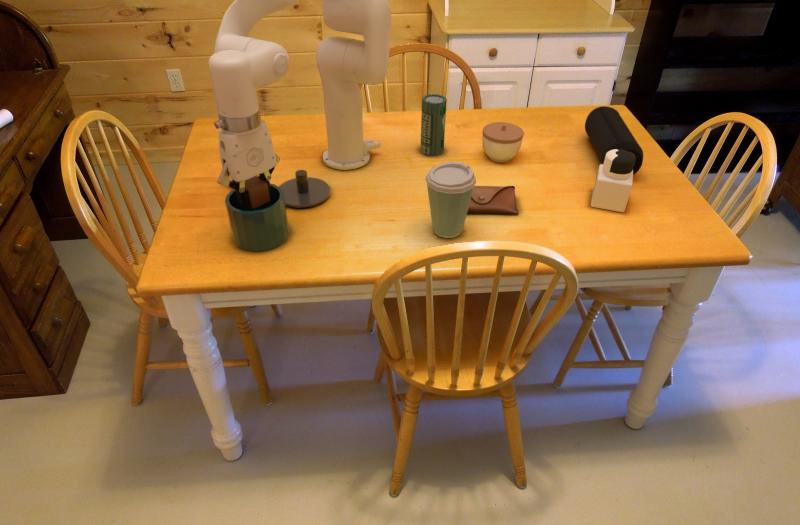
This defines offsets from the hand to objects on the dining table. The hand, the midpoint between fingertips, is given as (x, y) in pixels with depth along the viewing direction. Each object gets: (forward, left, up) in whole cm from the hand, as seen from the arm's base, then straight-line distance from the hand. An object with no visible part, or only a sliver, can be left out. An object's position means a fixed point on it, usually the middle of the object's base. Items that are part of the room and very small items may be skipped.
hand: (255, 199), depth 118 cm
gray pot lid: (-14, -12, -9) cm, 20 cm away
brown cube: (0, 0, 0) cm, 0 cm away
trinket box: (-68, -7, -10) cm, 69 cm away
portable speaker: (-94, +6, -10) cm, 95 cm away
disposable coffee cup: (-38, +16, -10) cm, 42 cm away
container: (-79, +23, -10) cm, 83 cm away
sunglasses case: (-50, +11, -9) cm, 52 cm away
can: (-53, -18, -10) cm, 57 cm away
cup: (0, 0, -9) cm, 9 cm away
